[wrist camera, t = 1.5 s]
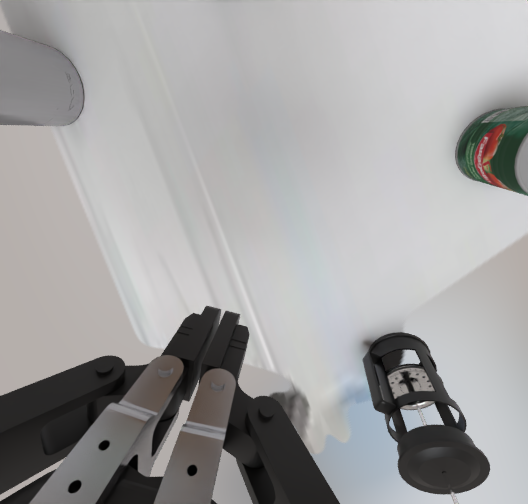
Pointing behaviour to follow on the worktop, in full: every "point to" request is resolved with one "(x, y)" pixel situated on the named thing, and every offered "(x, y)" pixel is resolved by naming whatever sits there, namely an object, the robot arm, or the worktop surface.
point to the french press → (423, 420)
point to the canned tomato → (496, 149)
